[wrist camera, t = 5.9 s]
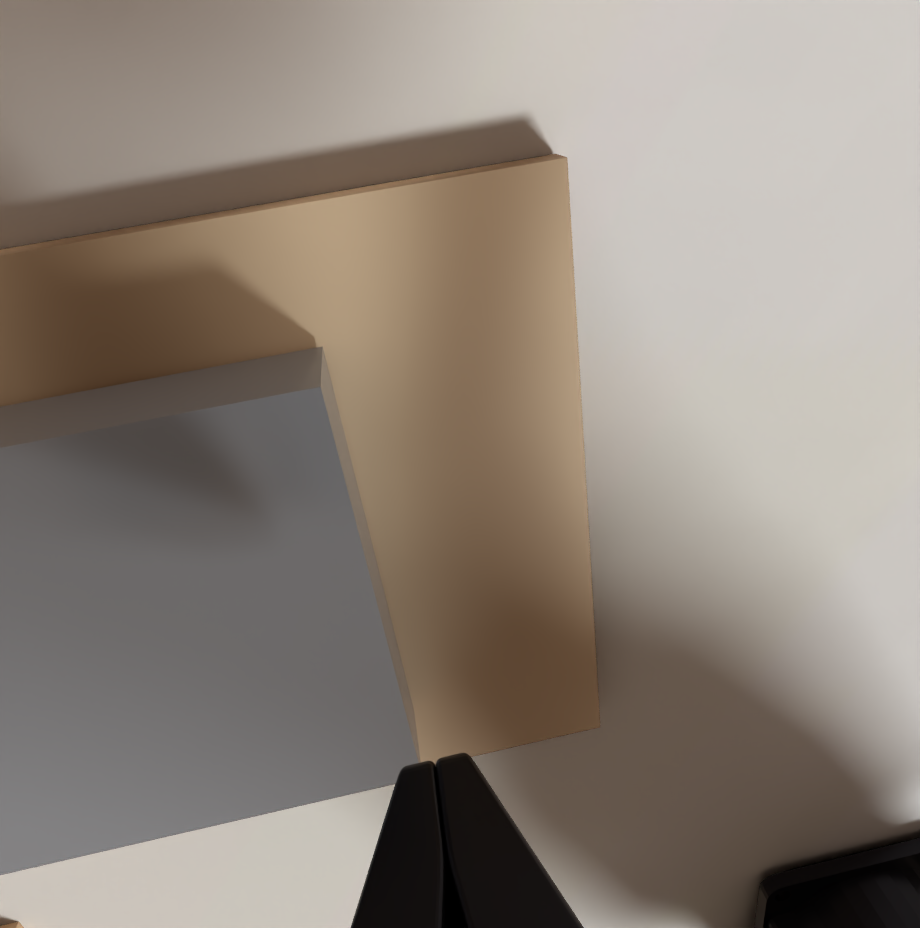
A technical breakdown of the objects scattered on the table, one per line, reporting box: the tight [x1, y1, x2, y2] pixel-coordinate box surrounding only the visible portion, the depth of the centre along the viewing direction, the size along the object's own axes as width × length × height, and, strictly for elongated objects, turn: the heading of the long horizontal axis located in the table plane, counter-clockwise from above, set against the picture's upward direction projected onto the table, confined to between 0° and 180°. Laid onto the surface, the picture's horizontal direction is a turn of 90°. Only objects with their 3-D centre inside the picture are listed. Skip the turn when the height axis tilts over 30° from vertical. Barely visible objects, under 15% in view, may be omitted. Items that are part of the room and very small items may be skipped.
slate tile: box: [0, 346, 421, 875], centre depth 12 cm, size 2×8×8 cm
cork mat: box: [0, 154, 600, 765], centre depth 13 cm, size 16×12×1 cm
